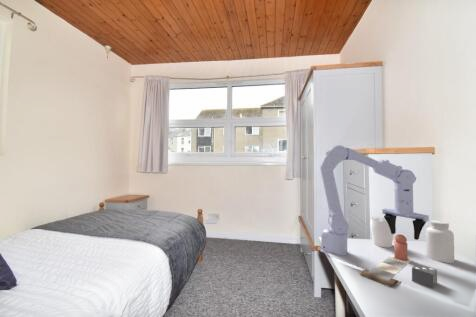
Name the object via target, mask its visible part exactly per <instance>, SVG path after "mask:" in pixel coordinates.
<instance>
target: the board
mask: <svg viewBox="0 0 476 317" xmlns="http://www.w3.org/2000/svg"><path fill="white" fill-rule="evenodd" d="M413 260H414V259H413V258H410V257H408V256H407V261H403V260H398V259H396V258H395V257H394V253H393V254H391V255H390V256H389V257H387V258H386V259H384V260H383V261H381V262H380V263H378V265H375V266H374V267H373V268H372V269H367V268H365V269H363V270H362V271H361V272H360V275H361V276H363V277H365V278H368V279H369V280H373V281H375V282H377V283H380V284H382V285H385V286H388V287H391V288H394V287H395V286H396V285H397V284H398V283H399V281H400V280H398V279H395V278H394V277H395V276H396V275H397V274H398V273H400V271H402V270H403V269H404V268H406V266H407V265H408V264H410V263H411V262H412V261H413Z"/></svg>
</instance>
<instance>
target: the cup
mask: <svg viewBox="0 0 476 317" xmlns="http://www.w3.org/2000/svg"><path fill="white" fill-rule="evenodd" d="M369 226H370V230H371V231H370V232H371V236H372V238H371V239H372V243H373V245H375V246H377V247H381V248H392V246H393V239H394V234H391V231H390V228H389V225H388V223H387V221H386V219H385V218H384V217H371V218H370V225H369Z"/></svg>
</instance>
